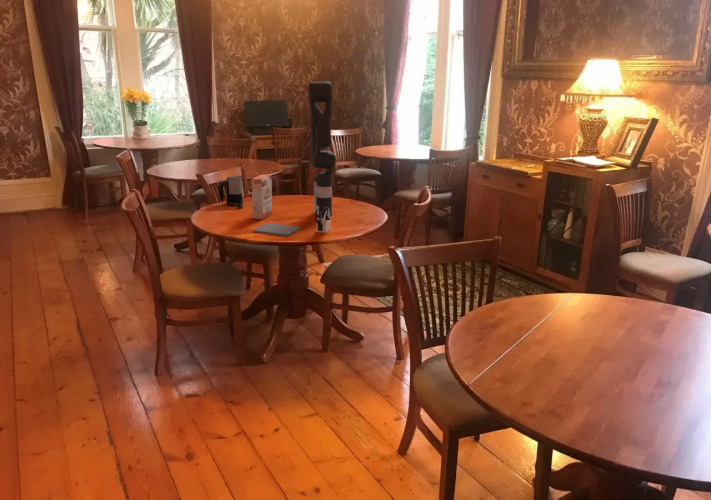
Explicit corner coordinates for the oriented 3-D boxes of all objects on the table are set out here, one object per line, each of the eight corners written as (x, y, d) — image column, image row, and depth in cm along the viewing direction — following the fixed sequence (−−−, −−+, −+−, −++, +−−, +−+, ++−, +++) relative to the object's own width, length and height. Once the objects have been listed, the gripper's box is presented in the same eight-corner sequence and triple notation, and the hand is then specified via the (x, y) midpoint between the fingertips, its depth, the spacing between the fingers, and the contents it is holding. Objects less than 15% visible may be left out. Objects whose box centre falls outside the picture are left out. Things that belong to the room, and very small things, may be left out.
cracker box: (263, 220, 285) (262, 179, 278) (252, 219, 286) (250, 178, 279) (272, 213, 298) (272, 174, 291) (261, 212, 299) (261, 173, 292)
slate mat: (267, 224, 277) (267, 222, 276) (300, 229, 271) (300, 227, 271) (253, 231, 264) (253, 229, 264) (287, 236, 258) (287, 234, 258)
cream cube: (320, 229, 272) (321, 219, 271) (330, 230, 271) (330, 220, 269) (316, 231, 268) (316, 221, 266) (326, 233, 266) (326, 222, 265)
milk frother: (235, 201, 323) (234, 175, 318) (255, 205, 314) (254, 179, 309) (216, 205, 312) (215, 178, 307) (236, 210, 303) (234, 182, 298)
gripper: (322, 191, 271) (322, 224, 276) (310, 197, 259) (310, 231, 264) (337, 193, 269) (336, 225, 274) (325, 199, 256) (325, 233, 261)
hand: (323, 228), depth 269 cm, fingers open, 8 cm apart
